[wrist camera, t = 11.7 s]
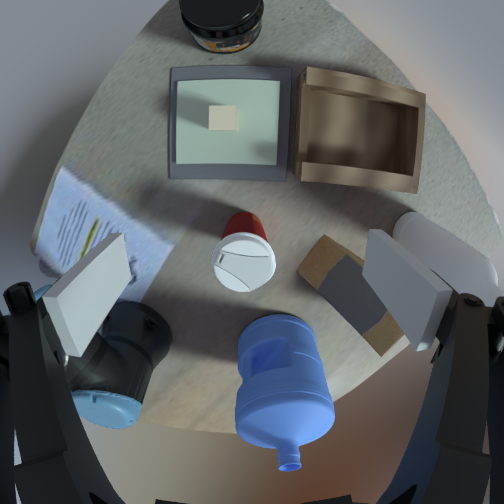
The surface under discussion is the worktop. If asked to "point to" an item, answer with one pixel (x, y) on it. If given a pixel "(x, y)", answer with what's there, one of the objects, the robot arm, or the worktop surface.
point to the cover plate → (229, 142)
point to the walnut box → (358, 131)
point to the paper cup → (243, 254)
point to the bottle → (448, 257)
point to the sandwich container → (350, 292)
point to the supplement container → (223, 23)
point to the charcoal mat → (234, 170)
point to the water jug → (281, 387)
